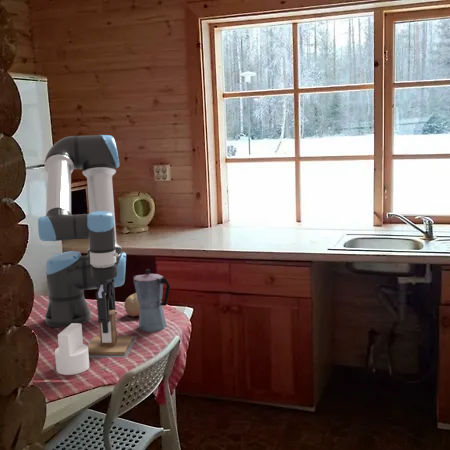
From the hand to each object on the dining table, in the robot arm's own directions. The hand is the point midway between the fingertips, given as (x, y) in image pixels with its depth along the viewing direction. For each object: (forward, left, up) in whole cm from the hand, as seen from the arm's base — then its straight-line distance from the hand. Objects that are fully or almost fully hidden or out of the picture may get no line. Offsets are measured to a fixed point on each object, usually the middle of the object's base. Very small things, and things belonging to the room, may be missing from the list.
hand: (108, 338), depth 177 cm
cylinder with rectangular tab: (+14, -7, -3) cm, 16 cm away
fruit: (-28, +3, -3) cm, 28 cm away
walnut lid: (0, 0, -3) cm, 3 cm away
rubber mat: (0, 0, -3) cm, 3 cm away
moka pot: (-16, +11, -3) cm, 20 cm away
